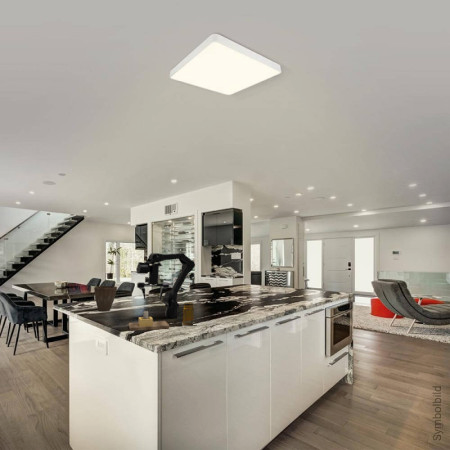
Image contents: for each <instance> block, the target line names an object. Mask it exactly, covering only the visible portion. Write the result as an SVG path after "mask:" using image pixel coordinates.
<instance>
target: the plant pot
mask: <svg viewBox="0 0 450 450" xmlns="http://www.w3.org/2000/svg"><path fill="white" fill-rule="evenodd" d="M117 289H118V287H117V286H114V285H113V286H112V285H106V286H105V285H99V286H94V287H93V291H94V300H95V303H96V304H95V305H96V306H97V310H98V311H99V312H109V311H111V308H112V306H113V305H114V301H115V298H116V293H117Z"/></svg>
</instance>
